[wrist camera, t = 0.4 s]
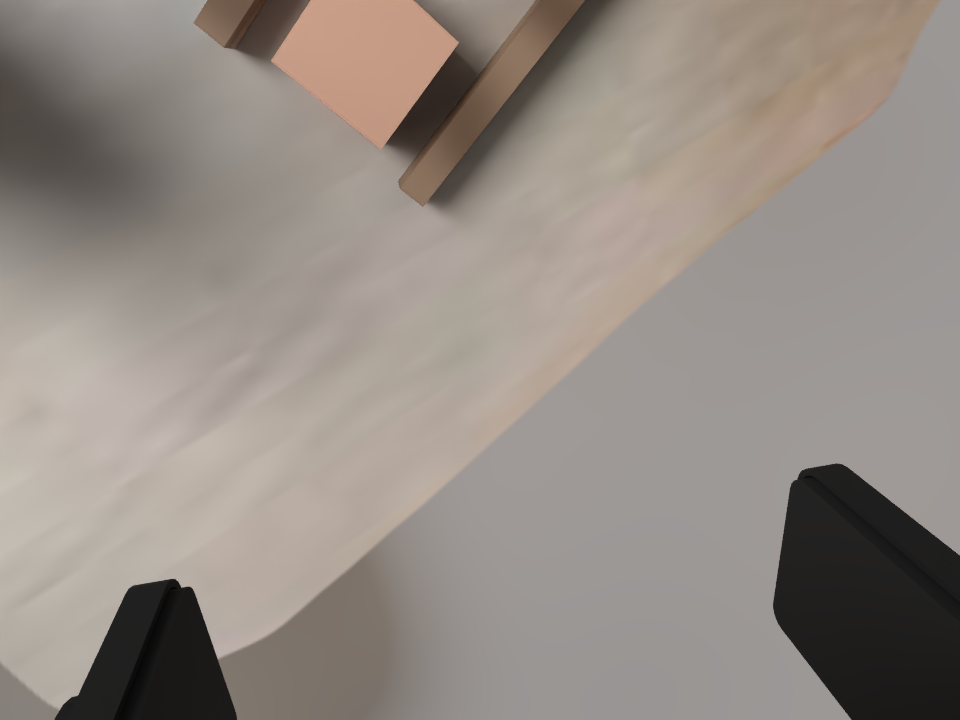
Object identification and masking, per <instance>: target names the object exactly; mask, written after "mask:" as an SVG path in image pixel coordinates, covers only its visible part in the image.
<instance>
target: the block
mask: <svg viewBox="0 0 960 720" xmlns="http://www.w3.org/2000/svg"><path fill="white" fill-rule="evenodd" d="M458 43H459V42H458V41H457V40H456V39H455V38H454V37H453V36H451V35H450V34H449V33H448V32H447V31H446V30H445V29H444V28H443V27H442V26H441V25H440V24H439V23H437V22H436V21H435V20H434V19H433V18H432V17H431V16H430V15H429V14H428V13H427V12H426V11H425V10H423V9H422V8H421V7H420V6H419V5H418V4H417V3H416V2H415V1H414V0H310V2H309V3H308V5H307V7H306V8H305V10H304V11H303V13H302V14H301V16H300V17H299V19H298V20H297V22H296V23H295V25H294V26H293V28H292V29H291V31H290V33H289V34H288V36H287V37H286V39H285V40H284V42H283V43H282V45H281V46H280V48H279V49H278V51H277V52H276V54H275V55H274V57H273V58H272V60H271V61H272V62H273V63H274V64H275V65H276V66H278V67H279V68H280V69H281V70H283V71H284V72H285V73H286V74H288V75H289V76H290V77H291V78H293V79H294V80H295V81H296V82H298V83H299V84H300V85H301V86H303V87H304V88H305V89H306V90H308V91H309V92H310V93H311V94H313V95H314V96H315V97H316V98H318V99H319V100H320V101H321V102H323V103H324V104H325V105H326V106H328V107H329V108H330V109H331V110H333V111H334V112H335V113H336V114H338V115H339V116H340V117H341V118H342V119H344V120H345V121H346V122H347V123H349V124H350V125H351V126H352V127H354V128H355V129H356V130H357V131H359V132H360V133H361V134H362V135H364V136H365V137H366V138H367V139H369V140H370V141H371V142H372V143H374V144H375V145H376V146H377V147H379V148H380V149H382V148H383V146H384V145H385V143H386V142H387V141H388V139H389V138H390V137H391V135H392V134H393V132H394V131H395V130H396V128H397V127H398V126H399V124H400V123H401V121H402V120H403V119H404V117H405V116H406V115H407V113H408V112H409V111H410V109H411V108H412V106H413V105H414V104H415V102H416V101H417V100H418V98H419V97H420V95H421V94H422V93H423V91H424V90H425V89H426V87H427V86H428V84H429V83H430V82H431V80H432V79H433V78H434V76H435V75H436V74H437V72H438V71H439V69H440V68H441V67H442V65H443V64H444V63H445V61H446V60H447V58H448V57H449V56H450V54H451V53H452V52H453V50H454V49H455V48H456V46H457V45H458Z"/></svg>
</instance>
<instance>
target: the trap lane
mask: <svg viewBox="0 0 960 720" xmlns="http://www.w3.org/2000/svg"><path fill="white" fill-rule="evenodd" d="M584 1H585V0H536V1H535V3H534V4H533V5H532V7H531V8H530V9H529V10H528V12H527V13H526V14H525V16H524V17H523V18H522V20H521V21H520V22H519V24H518V25H517V26H516V27H515V29H514V30H513V31H512V33H511V34H510V35H509V37H508V38H507V39H506V41H505V42H504V43H503V44H502V46H501V47H500V48H499V50H498V51H497V52H496V54H495V55H494V56H493V58H492V59H491V60H490V62H489V63H488V64H487V65H486V67H485V68H484V69H483V71H482V72H481V73H480V75H479V76H478V77H477V79H476V80H475V81H474V82H473V84H472V85H471V86H470V88H469V89H468V90H467V92H466V93H465V94H464V96H463V97H462V98H461V100H460V101H459V102H458V103H457V105H456V106H455V107H454V109H453V110H452V111H451V113H450V114H449V115H448V117H447V118H446V119H445V120H444V122H443V123H442V124H441V126H440V127H439V128H438V130H437V131H436V132H435V134H434V135H433V136H432V137H431V139H430V140H429V141H428V143H427V144H426V145H425V147H424V148H423V149H422V151H421V152H420V153H419V155H418V156H417V157H416V158H415V160H414V161H413V162H412V164H411V165H410V166H409V168H408V169H407V170H406V172H405V173H404V174H403V175H402V177H401V178H400V179H399V181H398V182H399V186H400V189H401V190H402V191H404V192H405V193H406V194H407V195H409V196H410V197H411V198H412V199H414V200H415V201H416V202H417V203H419V204H420V205H421V206H422V207H423V206H424V205H425V204H426V202H427V201H428V200H429V199H430V197H431V196H432V195H433V193H434V192H435V191H436V190H437V188H438V187H439V186H440V185H441V183H442V182H443V181H444V179H445V178H446V177H447V176H448V174H449V173H450V172H451V171H452V169H453V168H454V167H455V165H456V164H457V163H458V162H459V160H460V159H461V158H462V156H463V155H464V154H465V153H466V151H467V150H468V149H469V148H470V146H471V145H472V144H473V142H474V141H475V140H476V139H477V137H478V136H479V135H480V134H481V132H482V131H483V130H484V128H485V127H486V126H487V125H488V123H489V122H490V121H491V119H492V118H493V117H494V116H495V114H496V113H497V112H498V111H499V109H500V108H501V107H502V105H503V104H504V103H505V102H506V100H507V99H508V98H509V97H510V95H511V94H512V93H513V91H514V90H515V89H516V88H517V86H518V85H519V84H520V82H521V81H522V80H523V79H524V77H525V76H526V75H527V74H528V72H529V71H530V70H531V68H532V67H533V66H534V65H535V63H536V62H537V61H538V60H539V58H540V57H541V56H542V54H543V53H544V52H545V51H546V49H547V48H548V47H549V45H550V44H551V43H552V42H553V40H554V39H555V38H556V37H557V35H558V34H559V33H560V31H561V30H562V29H563V28H564V26H565V25H566V24H567V23H568V21H569V20H570V19H571V17H572V16H573V15H574V14H575V12H576V11H577V10H578V8H579V7H580V6H581V5H582V3H583V2H584ZM265 2H266V0H208V1H207V2H206V4H205V5H204V7H203V8H202V10H201V12H200V13H199V15H198V16H197V18H196V20H195V21H194V24H195V25H196V26H198V27H199V28H200V29H201V30H203V31H204V32H205V33H206V34H208V35H209V36H210V37H211V38H213V39H214V40H215V41H216V42H218V43H219V44H220V45H221V46H223V47H225V48H231V49H235V48H236V46H237V45H238V43H239V42H240V40H241V39H242V37H243V36H244V34H245V33H246V31H247V30H248V28H249V26H250V25H251V23H252V22H253V20H254V19H255V17H256V16H257V14H258V13H259V11H260V10H261V8H262V7H263V5H264V3H265Z"/></svg>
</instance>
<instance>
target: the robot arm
mask: <svg viewBox="0 0 960 720" xmlns="http://www.w3.org/2000/svg"><path fill="white" fill-rule="evenodd" d="M773 609H774V614H775V617H776V620H777V622H778V624H779V625H780V627H781V629H782V630H783V631H784V633H785V634H786V635H787V637H788V638H789V639H790V640H791V642H792V643H793V644H794V646H795V647H796V648H797V649H798V651H799V652H800V653H801V655H802V656H803V657H804V659H805V660H806V661H807V662H808V664H809V665H810V666H811V668H812V669H813V670H814V672H815V673H816V674H817V675H818V677H819V678H820V679H821V681H822V682H823V683H824V684H825V686H826V687H827V688H828V690H829V691H830V692H831V694H832V695H833V696H834V697H835V699H836V700H837V701H838V703H839V704H840V705H841V706H842V708H843V709H844V710H845V712H846V713H847V714H848V715H849V717H850V718H851V719H852V720H960V556H959V555H958V554H957V553H956V552H954V551H953V550H952V549H951V548H949V547H948V546H947V545H946V544H944V543H943V542H942V541H940V540H939V539H938V538H937V537H935V536H934V535H933V534H931V533H930V532H929V531H928V530H926V529H925V528H923V526H921V525H920V524H919V523H918V522H916V521H915V520H914V519H912V518H911V517H910V516H909V515H907V514H906V513H905V512H904V511H902V510H901V509H900V508H898V507H897V506H896V505H895V504H893V503H892V502H891V501H890V500H888V499H887V498H886V497H885V496H883V495H882V494H881V493H879V492H878V491H877V490H876V489H874V488H873V487H872V486H870V485H869V484H868V483H867V482H865V481H864V480H863V479H862V478H860V477H859V476H858V475H856V474H855V473H854V472H853V471H851V470H850V469H849V468H848V467H846V466H844V465H842V464H831V465H826V466H820V467H814V468H808V469H805V470H802V471H801V473H800V474H799V477H798V480H795V481H793V483H792V484H791V487H790V493H789V500H788V507H787V513H786V520H785V527H784V534H783V540H782V547H781V555H780V561H779V568H778V574H777V581H776V588H775V595H774V602H773ZM55 720H237V717H236V712H235V709H234V706H233V703H232V700H231V697H230V694H229V691H228V688H227V685H226V682H225V680H224V677H223V674H222V671H221V668H220V665H219V662H218V659H217V656H216V653H215V651H214V648H213V645H212V642H211V639H210V636H209V633H208V630H207V627H206V624H205V621H204V619H203V616H202V613H201V610H200V607H199V604H198V601H197V598H196V595H195V593H194V591H193V589H192V588H191V587H184V588H181V586H180V584H179V582H178V581H177V580H176V579H169V580H163V581H158V582H152V583H146V584H140V585H135V586H132V587H131V588H129V589H128V591H127V593H126V594H125V596H124V598H123V600H122V603H121V605H120V607H119V609H118V611H117V613H116V615H115V618H114V620H113V622H112V624H111V626H110V628H109V630H108V633H107V635H106V637H105V639H104V641H103V643H102V645H101V648H100V650H99V652H98V654H97V656H96V658H95V661H94V663H93V665H92V667H91V669H90V671H89V673H88V676H87V678H86V680H85V682H84V684H83V686H82V688H81V691H80V693H79V695H78V696H75V697H71V698H70V699H69V700H68V701H67V702H66V703H65V704H64V705H63V706H62V708H61V709H60V711H59V713H58V714H57V716H56V718H55Z"/></svg>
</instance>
